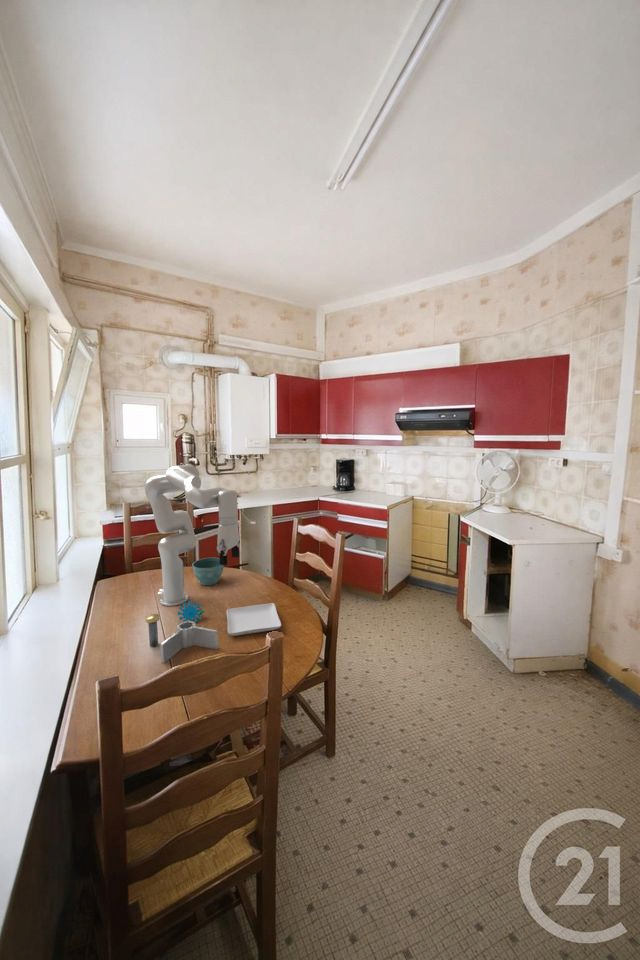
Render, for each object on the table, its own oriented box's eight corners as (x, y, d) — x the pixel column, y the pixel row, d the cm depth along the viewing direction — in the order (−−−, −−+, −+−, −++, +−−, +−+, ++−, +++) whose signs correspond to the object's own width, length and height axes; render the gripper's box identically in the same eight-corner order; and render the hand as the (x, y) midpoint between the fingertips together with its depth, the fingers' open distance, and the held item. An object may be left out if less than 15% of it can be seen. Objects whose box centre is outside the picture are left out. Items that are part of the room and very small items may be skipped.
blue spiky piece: (177, 624, 155) (177, 600, 160) (175, 629, 159) (176, 606, 164) (205, 622, 159) (204, 599, 165) (203, 627, 163) (202, 604, 169)
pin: (144, 647, 141) (142, 618, 140) (153, 640, 146) (151, 612, 144) (154, 649, 140) (152, 620, 138) (163, 642, 144) (162, 614, 143)
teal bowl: (212, 590, 192) (211, 569, 190) (186, 585, 197) (185, 565, 196) (230, 578, 207) (230, 559, 205) (206, 574, 212) (205, 556, 211)
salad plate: (228, 641, 146) (227, 632, 145) (226, 615, 166) (226, 608, 166) (282, 633, 151) (282, 625, 151) (274, 609, 172) (274, 602, 171)
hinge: (154, 661, 133) (153, 642, 132) (185, 636, 148) (184, 620, 147) (195, 670, 128) (194, 650, 127) (222, 644, 143) (221, 626, 142)
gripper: (230, 515, 163) (231, 553, 165) (208, 524, 147) (210, 567, 149) (246, 516, 161) (247, 555, 163) (225, 526, 145) (227, 569, 147)
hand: (229, 560), depth 156 cm, fingers open, 9 cm apart
